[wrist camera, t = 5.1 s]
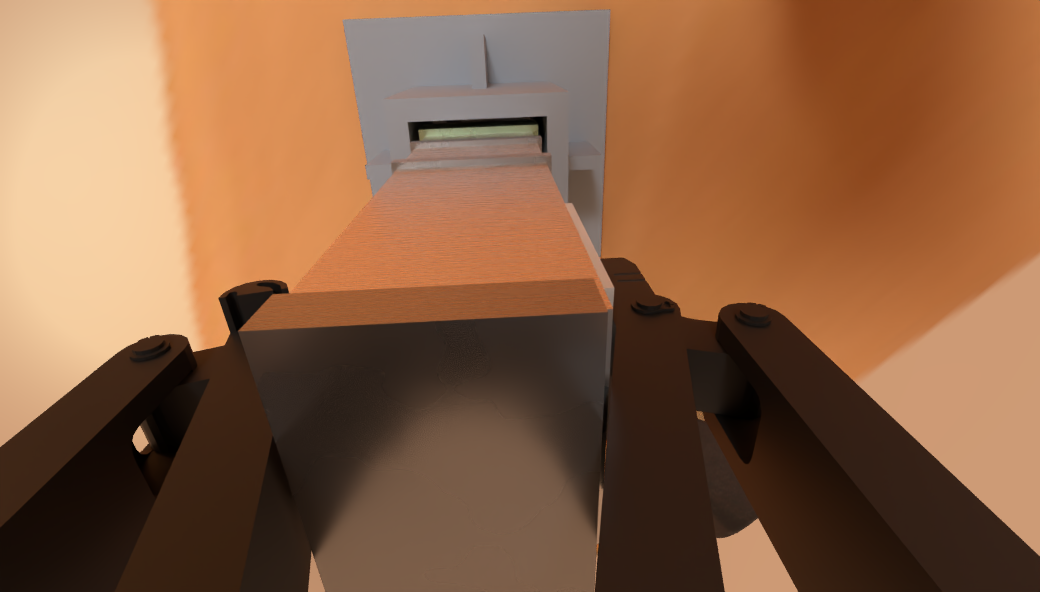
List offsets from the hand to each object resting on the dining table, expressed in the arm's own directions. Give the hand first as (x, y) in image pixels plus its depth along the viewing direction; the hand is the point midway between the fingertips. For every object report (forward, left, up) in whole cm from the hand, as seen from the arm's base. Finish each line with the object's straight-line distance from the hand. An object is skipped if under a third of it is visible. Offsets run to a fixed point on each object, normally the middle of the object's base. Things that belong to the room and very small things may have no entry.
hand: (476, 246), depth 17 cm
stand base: (0, 0, -20) cm, 20 cm away
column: (0, 0, -16) cm, 16 cm away
